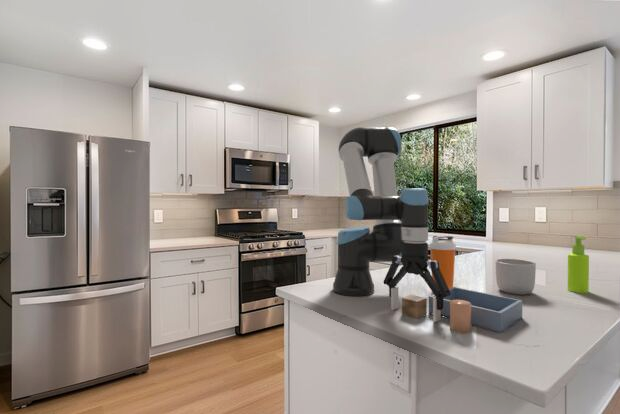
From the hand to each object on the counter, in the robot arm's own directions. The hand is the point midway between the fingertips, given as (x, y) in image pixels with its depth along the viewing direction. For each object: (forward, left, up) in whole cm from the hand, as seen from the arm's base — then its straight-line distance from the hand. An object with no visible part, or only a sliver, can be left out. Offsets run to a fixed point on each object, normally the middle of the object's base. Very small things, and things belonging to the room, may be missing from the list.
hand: (414, 314), depth 97 cm
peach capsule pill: (+14, -1, 0) cm, 14 cm away
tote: (+12, +12, 0) cm, 17 cm away
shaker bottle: (-7, +30, 0) cm, 31 cm away
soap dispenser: (+26, +65, 0) cm, 70 cm away
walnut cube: (0, 0, 0) cm, 0 cm away
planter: (+11, +48, 0) cm, 49 cm away
